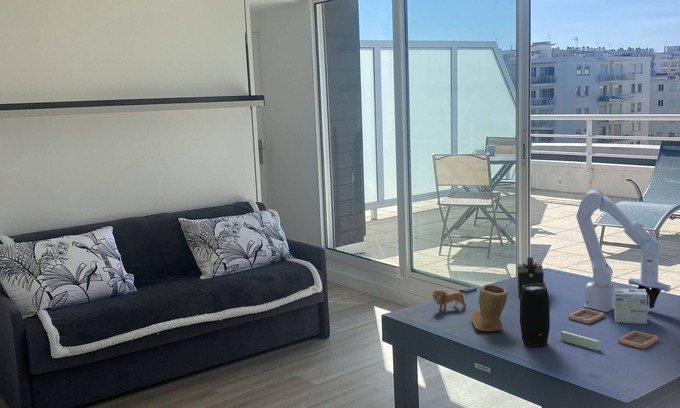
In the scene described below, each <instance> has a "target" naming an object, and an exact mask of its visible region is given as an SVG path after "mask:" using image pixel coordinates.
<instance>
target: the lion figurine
mask: <svg viewBox="0 0 680 408" xmlns="http://www.w3.org/2000/svg"><path fill="white" fill-rule="evenodd" d="M464 297H465V296H464V295H463V294H462V293H461V292H460V291H452V292H449V293H448V292H445V291H444V290H441V289H439V288H438V289H434V290H433V292H432V299H433V302H434V303H435V304H437V305H439V306H438V307H439V308H438V311H441V310H442V312H443V313H446V312H447V304H449V303H452V302H454V305H452V308H456V307H457V306H458V304H460V305H462V307H461V309H463V310H464V309H466V306H467V304H466V303H465V302H466V301H465V298H464Z"/></svg>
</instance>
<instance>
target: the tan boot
mask: <svg viewBox="0 0 680 408" xmlns="http://www.w3.org/2000/svg"><path fill="white" fill-rule="evenodd" d="M478 294H479V296H478V305H479V310H476V311H474V312H472V313H471V314H470V317H471V321H472V325H473V326H474V328H475V329H476V330H478V331H481V332H498V331H501V330H502V328H503V323H502V320H501V316H502V313H503V311H504V308H505V306H506V304H507V300H508V299H507V298H508V291H507V290H506V289H505V288H504V287H502V286H499V285H497V284H491V283H490V284H489V283H488V284H487V283H486V284H484V285H482V286H481V287H480V289H479V293H478Z"/></svg>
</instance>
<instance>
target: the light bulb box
mask: <svg viewBox="0 0 680 408" xmlns="http://www.w3.org/2000/svg"><path fill="white" fill-rule="evenodd" d="M613 305H614V309H613V318H614V323H620V322H621V323H622V322H623V323H622V324H639V325H640V324H641V325H642V324H644V325H647V324H648V306H647V293H646V289H637V288H618V287H617V288H615V287H613Z"/></svg>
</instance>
